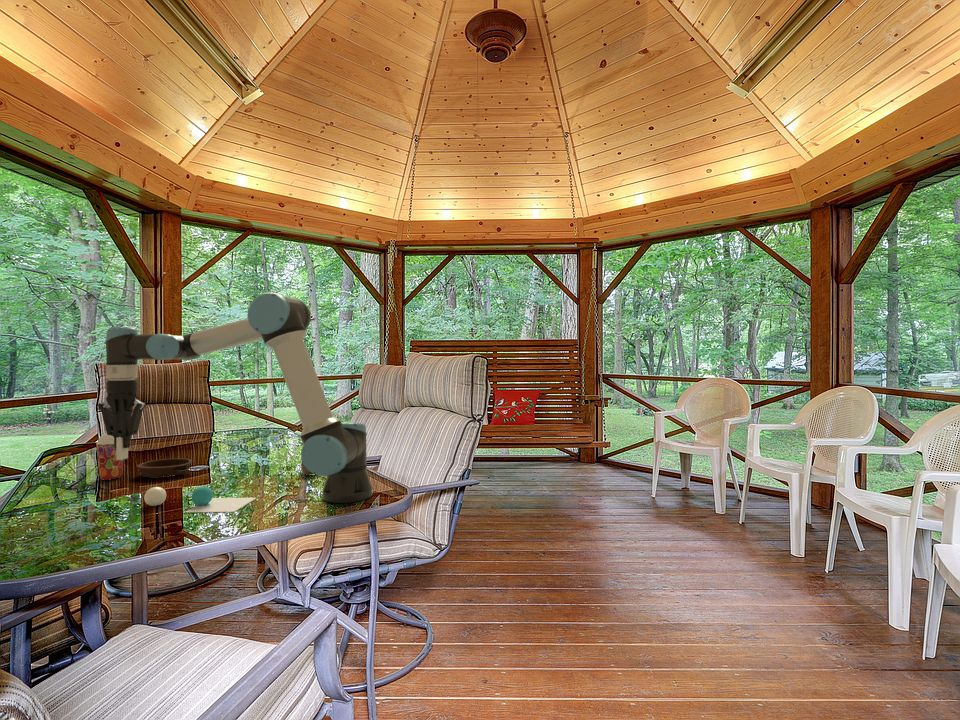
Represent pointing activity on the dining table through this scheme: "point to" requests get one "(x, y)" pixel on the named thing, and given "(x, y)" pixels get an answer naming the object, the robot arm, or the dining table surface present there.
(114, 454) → the smoothie
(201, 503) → the object ball
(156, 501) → the cue ball
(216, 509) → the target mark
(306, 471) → the vase
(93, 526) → the dining table surface
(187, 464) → the dish
